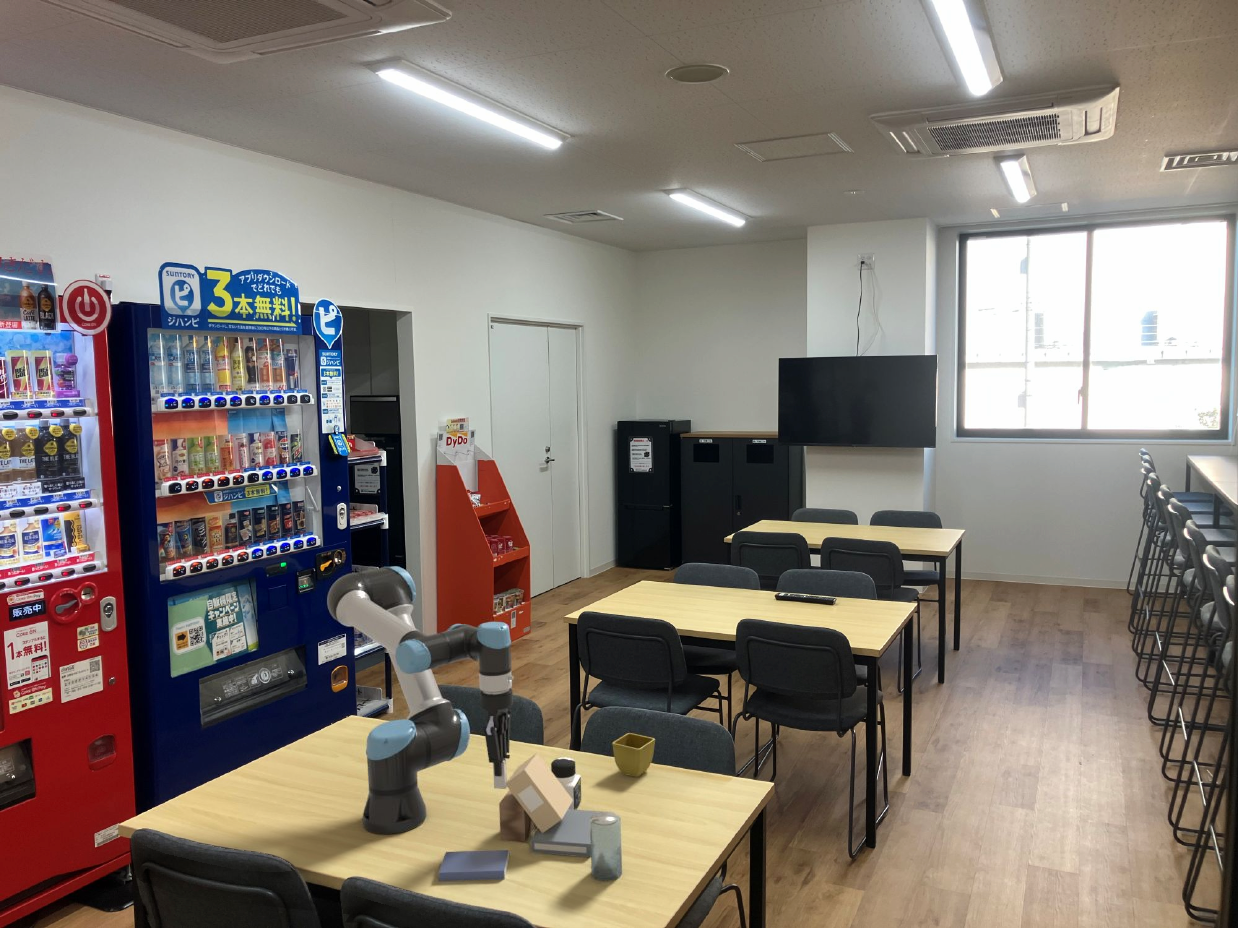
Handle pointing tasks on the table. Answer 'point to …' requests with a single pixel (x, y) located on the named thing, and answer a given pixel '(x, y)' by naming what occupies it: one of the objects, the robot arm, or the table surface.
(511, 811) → the rest block
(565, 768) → the medicine bottle
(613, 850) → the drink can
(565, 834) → the podium
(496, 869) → the notebook
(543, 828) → the carton
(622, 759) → the flower pot
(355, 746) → the table surface
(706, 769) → the table surface
